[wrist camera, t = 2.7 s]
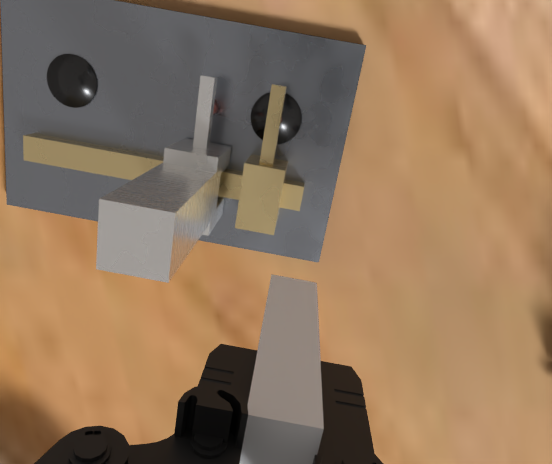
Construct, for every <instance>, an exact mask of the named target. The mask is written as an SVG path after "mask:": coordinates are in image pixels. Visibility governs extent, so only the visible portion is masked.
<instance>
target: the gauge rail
mask: <svg viewBox="0 0 552 464" xmlns="http://www.w3.org/2000/svg"><path fill="white" fill-rule="evenodd" d="M286 88H287V87H286V86H280V85H275V84H272V86H271V92H270V99H269V105H268V111H267V118H266V124H265V130H264V137H263V143H262V149H261V156H258V155H252V154H251V155H250V157H249V158H248V159H247V160H246V162H245V163H244V169H243V171H238V170H232V169H227V168H226V169H225V170H224V171H223V172H222V173H221V176H220V184H219V192H218V196H220V197H225V198H231V199H236V200H239V203H238V210H237V217H236V223H235V228H237V229H243V230H248V231H253V232H259V233H264V234H270V235H274V233H275V228H276V224H277V220H278V215H279V209H280V208H285V209H290V210H296V211H300V206H301V201H302V196H303V191H304V184H305V183H303V182H298V181H292V180H287V179H285V176H286V170H287V165H288V161H285V160H280V159H275V153H276V147H277V141H278V135H279V129H280V123H281V122H282V112H283V106H284V100H285V94H286ZM23 155H24V160H25V161H30V162H36V163H41V164H47V165H52V166H57V167H63V168H68V169H74V170H79V171H84V172H90V173H95V174H101V175H106V176H112V177H117V178H122V179H128V180H133V179H135V178H137V177H138V176H140V175H142V174H144V173H145V172H147V171H149V170H151V169H152V168H154V167H156V166H158V165H159V164H161V163H163V161H164V157H161V156H156V155H151V154H145V153H140V152H134V151H129V150H123V149H118V148H112V147H107V146H102V145H96V144H91V143H85V142H80V141H74V140H69V139H63V138H58V137H52V136H47V135H42V134H36V133H32V134H27V135H23Z"/></svg>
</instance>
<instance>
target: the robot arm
mask: <svg viewBox="0 0 552 464" xmlns="http://www.w3.org/2000/svg"><path fill="white" fill-rule="evenodd" d="M363 395H364V393H363V388H362V382H361V379H360V378H359V377H358V375H357V374H356V373H355V371H354V370H353V368H352V367H350V366H345V365H339V364H334V363H329V362H323V361H320V340H319V319H318V298H317V283H315V282H310V281H304V280H299V279H294V278H288V277H283V276H277V275H271V281H270V286H269V292H268V297H267V302H266V308H265V313H264V319H263V324H262V329H261V335H260V340H259V346H258V351H257V350H251V349H246V348H240V347H235V346H230V345H224V344H220V345H219V346H218V347H217V348H216V349H214V350H213V351H212V352H211V353H210V354H209V356H208V359H207V362H206V365H205V368H204V370H203V373H202V376H201V380H200V381H199V384H198V387H194V388H192V389H191V390H189V391H187V392H186V393H184V395H183V396H182V397H181V399H180V400H179V401H178V409H177V418H176V426H175V434H173V435H172V436H170V437H169V438H167V439H164V440H161V441H159V442H155V443H149V444H139V445H129V444H128V442H127V441H126V439H125V437H124V435H122V434H121V433H119V432H118V431H116V430H115V429H113V428H108V427H104V426H92V427H84V428H81V429H78V430H75V431H73V432H71V433H69V434H68V435H66V436H65V437H63V438H62V439H60V440H59V441H58V442H57V443H56V444H55V445H54V446H53V447H52V448H50V449H49V450H48V451H47V452H46V453H45V454H44V455H43V456H42V457H41V458H40V459H39V460H38V461H37V462H35V463H34V464H383V463H382V462H381V461H380V460H379V458H378V457H377V456H376V455H375V454H374V449H373V443H372V438H371V432H370V427H369V421H368V416H367V410H366V409H365V408H366V405H365V399H364V397H363Z"/></svg>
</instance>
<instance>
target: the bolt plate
mask: <svg viewBox="0 0 552 464" xmlns="http://www.w3.org/2000/svg"><path fill="white" fill-rule="evenodd" d="M0 2H1V34H2V66H3V98H4V130H5V162H6V193H7V205H13V206H18V207H24V208H29V209H34V210H40V211H45V212H50V213H56V214H61V215H67V216H72V217H77V218H83V219H88V220H93V221H98V213H99V199H100V198H101V197H103V196H105V195H107V194H108V193H110V192H112V191H114V190H115V189H117V188H119V187H121V186H123V185H124V184H126V183H128V182H130V181H131V180H128V179H122V178H117V177H112V176H106V175H101V174H95V173H90V172H84V171H79V170H74V169H68V168H63V167H57V166H52V165H47V164H41V163H36V162H30V161H25V160H24V155H23V135H27V134H32V133H36V134H42V135H47V136H52V137H58V138H63V139H69V140H74V141H80V142H85V143H91V144H96V145H102V146H107V147H112V148H118V149H123V150H129V151H134V152H140V153H145V154H151V155H156V156H161V157H164V149H165V147H168V146H170V145H172V144H174V143H176V142H178V141H180V140H182V139H184V138H188V139H193V140H194V132H195V123H196V113H197V104H198V95H199V85H200V76H201V75H204V76H210V77H215V78H217V86H216V94H215V101H216V102H217V103H218V106H219V109H218V111H217V112H216V113H214V114H213V120H212V128H211V136H210V143H215V144H221V145H226V146H232V147H231V154H230V162H229V166H228V167H227V169H232V170H238V171H243V169H244V163H245V162H246V160H247V159H248V158H249V157H250V155H251V154H252V155H258V156H261V149H262V143H263V137H264V130H265V124H266V118H267V111H268V105H269V99H270V92H271V86H272V84H275V85H280V86H286V87H287V88H286V94H285V100H284V106H283V112H282V122H281V123H280V129H279V135H278V141H277V147H276V153H275V159H280V160H285V161H288V165H287V170H286V176H285V179H287V180H292V181H298V182H303V183H305V184H304V191H303V196H302V201H301V206H300V211H296V210H290V209H285V208H280V209H279V215H278V220H277V224H276V228H275V233H274V235H270V234H264V233H259V232H253V231H248V230H243V229H237V228H235V223H236V217H237V210H238V203H239V200H236V199H231V198H224V206H223V213H222V216H221V217H220V219H219V220H218V222H217V224H216V225H215V227H214V228H213V230H212V231H211V233H210V234H209V236H207V235H201V237H200V238H199V240H201V241H206V242H212V243H217V244H222V245H228V246H233V247H238V248H244V249H249V250H255V251H260V252H265V253H271V254H276V255H281V256H287V257H292V258H298V259H303V260H308V261H314V262H319V259H320V254H321V249H322V245H323V240H324V236H325V231H326V227H327V222H328V218H329V213H330V208H331V204H332V199H333V195H334V190H335V186H336V181H337V176H338V172H339V167H340V163H341V158H342V154H343V149H344V144H345V140H346V135H347V131H348V126H349V122H350V117H351V113H352V108H353V103H354V99H355V94H356V90H357V85H358V81H359V76H360V71H361V67H362V62H363V58H364V53H365V49H366V45H361V44H355V43H350V42H344V41H339V40H333V39H327V38H322V37H316V36H311V35H305V34H299V33H294V32H288V31H283V30H277V29H271V28H266V27H260V26H255V25H249V24H243V23H238V22H232V21H227V20H221V19H215V18H210V17H204V16H199V15H193V14H187V13H182V12H176V11H171V10H165V9H160V8H154V7H148V6H143V5H137V4H132V3H126V2H120V1H115V0H0ZM219 197H220V196H219Z"/></svg>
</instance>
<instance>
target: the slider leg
mask: <svg viewBox="0 0 552 464" xmlns="http://www.w3.org/2000/svg"><path fill="white" fill-rule="evenodd" d="M216 86H217V78H215V77H210V76H204V75H201V76H200V85H199V95H198V104H197V113H196V123H195V132H194V140H193V139H188V138H184V139H182V140H180V141H178V142H176V143H174V144H172V145H170V146H168V147H165V149H164V161H163V163H161V164H159V165H158V166H156V167H154V168H152V169H151V170H149V171H147V172H145V173H144V174H142V175H140V176H138V177H137V178H135V179H133V180H131V181H130V182H128V183H126V184H124V185H123V186H121V187H119V188H117V189H115V190H114V191H112V192H110V193H108V194H107V195H105V196H103V197H101V198H100V199H99V213H98V239H97V264H96V269H98V270H104V271H109V272H114V273H120V274H125V275H130V276H136V277H141V278H146V279H152V280H157V281H162V282H168V283H169V281H170V280H171V278H172V277H173V275H174V274H175V273H176V271H177V270H178V268H179V267H180V265H181V264H182V263H183V261H184V260H185V258H186V257H187V255H188V254H189V253H190V251H191V250H192V248H193V247H194V245H195V244H196V242H197V241H198V240H199V238H200V237H201V235H207V236H209V234H210V233H211V231H212V230H213V228H214V227H215V225H216V224H217V222H218V220H219V219H220V217H221V216H222V213H223V206H224V198H225V197H219V196H218V192H219V184H220V176H221V173H222V172H223V171H224V170H225V169H226V168H227V167H228V166H229V162H230V154H231V147H232V146H226V145H221V144H215V143H210V136H211V128H212V120H213V114H214V113H216V112H217V111H218V109H219V106H218V103H217V102H216V101H215V94H216Z"/></svg>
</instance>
